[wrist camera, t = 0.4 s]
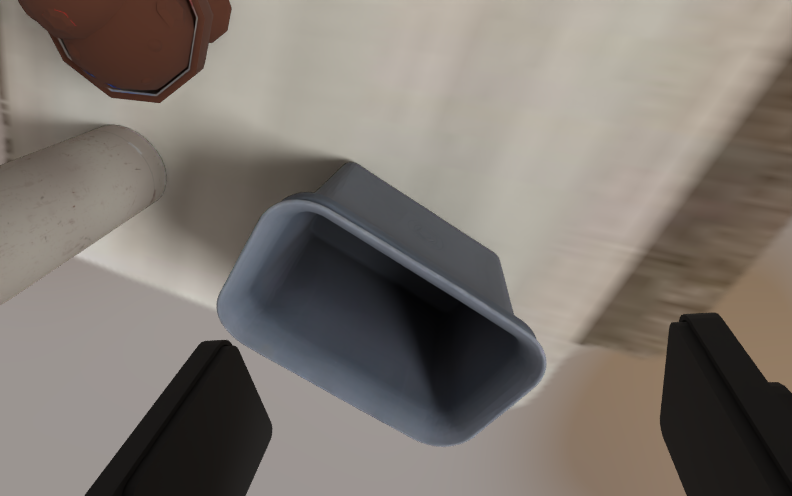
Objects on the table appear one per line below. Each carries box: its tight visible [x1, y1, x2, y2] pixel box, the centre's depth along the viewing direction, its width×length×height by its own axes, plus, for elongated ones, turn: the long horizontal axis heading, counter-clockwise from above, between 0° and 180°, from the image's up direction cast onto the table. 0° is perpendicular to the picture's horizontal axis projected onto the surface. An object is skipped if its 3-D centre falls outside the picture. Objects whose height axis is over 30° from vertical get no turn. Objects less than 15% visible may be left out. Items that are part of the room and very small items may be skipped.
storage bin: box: [217, 162, 546, 447], centre depth 38 cm, size 21×16×14 cm
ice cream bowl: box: [18, 0, 232, 103], centre depth 30 cm, size 11×11×15 cm
